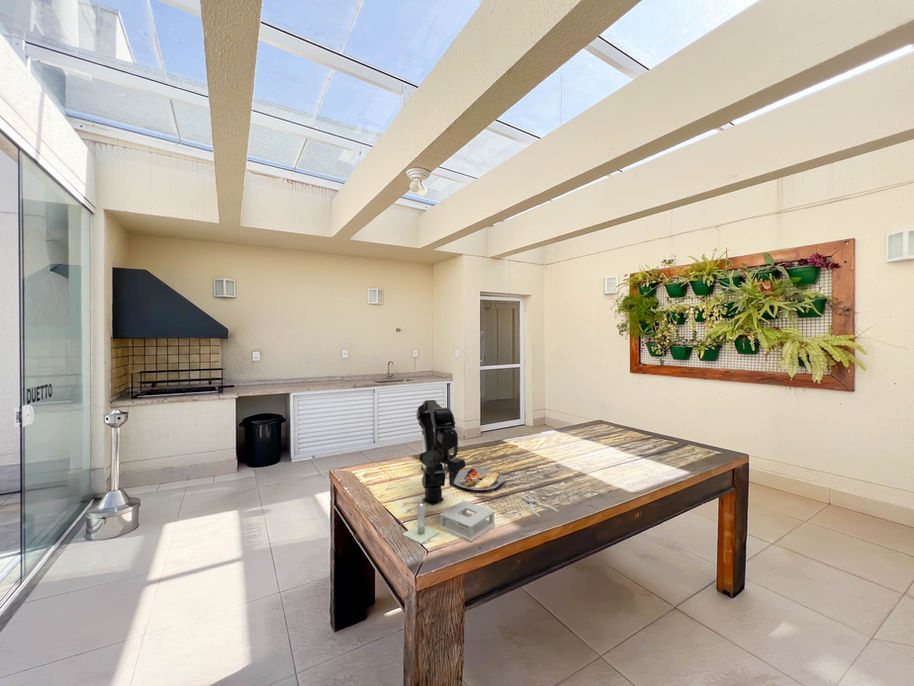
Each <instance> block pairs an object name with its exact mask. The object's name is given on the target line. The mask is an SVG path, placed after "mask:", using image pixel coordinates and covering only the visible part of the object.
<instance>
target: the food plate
mask: <svg viewBox="0 0 914 686" xmlns="http://www.w3.org/2000/svg"><path fill="white" fill-rule="evenodd" d="M462 477H463V478H464V477H465V478H466V479H467V480H469V481H468V482H463V484H462V483H460V480H461V479H462ZM460 478H461V479H460ZM465 478H464V479H465ZM480 479H482V480H480ZM462 480H463V479H462ZM462 480H461V481H462ZM476 481H479V482H478V484H476ZM505 481H506V478H505V477H504V476H503V475H502V473H501V471H494V470H490V469H485V468H470V469H465V470H461V471H459V472H458V474H457V476H456V478H455V481H454V483H453V485H456V486H457V487H460V488H463V489H468V490H473V491H484V490H485V491H487V490H492V489H496V488H497V487H499V486H501V484H502V483H504V482H505ZM471 486H472V487H473V486H474V487H473V488H472V487H471Z"/></svg>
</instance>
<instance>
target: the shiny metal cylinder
mask: <svg viewBox="0 0 914 686" xmlns="http://www.w3.org/2000/svg"><path fill="white" fill-rule="evenodd" d="M417 526H418V534H419V535H423V534H424V533H425V526H426V502H425V501H419V502H418V503H417Z"/></svg>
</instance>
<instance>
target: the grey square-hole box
mask: <svg viewBox="0 0 914 686" xmlns="http://www.w3.org/2000/svg"><path fill="white" fill-rule="evenodd" d="M468 511H469V512H468ZM495 513H496V512H495V510H493V509H489V508H486V507H484V506H481V505H478V504H475V503H472V502H469V501H466V500H463V501H460V502H458V503H456V504H455V505H453V506H451V507H449V508H447V509H445V510H444V511H442V512H440V513H439V515H438V516H439V525H438V526H439V527H438V528H439V529H441V530H443V531H446V532H448V533H450V534H451V535H455V536H456V537H459V538H461V537H462V539H464V538H465V539H464V540H466V539H467V540H466V541H468V540H470V541H471V542H473V541H474V540H476V539H478V538H479V537H481V534H482V535H483V534H485V533H486V532H487V531H489V530H491V528H493V527H494V526H495V525H496V523H495ZM488 518H489V519H488ZM446 519H447V520H446ZM478 536H479V537H478ZM475 538H476V539H475ZM472 540H473V541H472ZM470 541H469V542H470Z"/></svg>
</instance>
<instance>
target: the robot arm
mask: <svg viewBox="0 0 914 686" xmlns="http://www.w3.org/2000/svg"><path fill="white" fill-rule="evenodd" d="M416 419H417V421H418V425H419V427H420V426H421V428H422V429H423V432H424V440H425V449H426V452H424V453H422V452H421V453H420V455H419V462H421V464H422V463H423V464H424V465H426V467H425V469H423V471H424V472H423V475H422V477H421V485H422V486H423V489H424V494H425V496H424V497H423V498H422V502H424V503H428V504H430V505H432V506H433V505H436V504H438V503H440V502H442V501H444V500H445V498H443V489H442V487H445V484H446V478H447V473H448V479H449V480H448V482H449V483H448V484H449V487H452V486H453V485H454V481H455V478H456V476H457V474H458V473H459V472H461V471H462V470H463V469H464V468H466V461H465V460H464V459H463V458H459V457H455V458H454V459H451V460H450V459H449V458H451V455H452V454H450V450H451V449H454V447H455V446H456V444H457V437H456V436H455V435H454V434H453V433H452V429H456V421H455V418H454V414H453V411H452V410H451V409H450V408H449V407H442V406H441V405H439V403H437V400H435V399H431V400H430V399H429V400H428V399H426V400H424V401H423V403H422V404H421V405H419V406H418V407H417V410H416ZM451 428H452V429H451ZM422 429H421V430H422ZM442 463H444V464H446V468H447V471H448V472H447V473H445V472H446V471H445V472H444V471H443V470H444V469H443V465H442ZM460 470H461V471H460Z"/></svg>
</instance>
